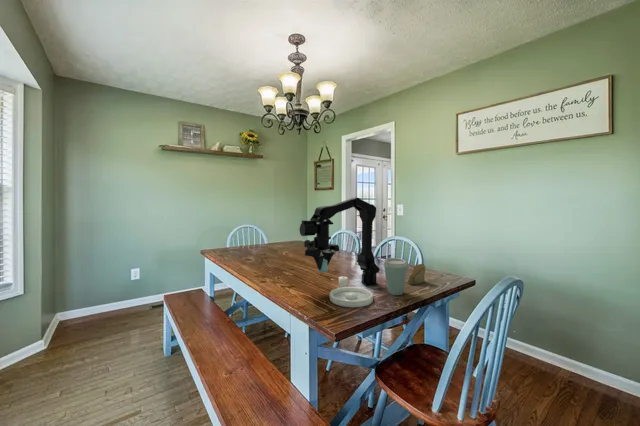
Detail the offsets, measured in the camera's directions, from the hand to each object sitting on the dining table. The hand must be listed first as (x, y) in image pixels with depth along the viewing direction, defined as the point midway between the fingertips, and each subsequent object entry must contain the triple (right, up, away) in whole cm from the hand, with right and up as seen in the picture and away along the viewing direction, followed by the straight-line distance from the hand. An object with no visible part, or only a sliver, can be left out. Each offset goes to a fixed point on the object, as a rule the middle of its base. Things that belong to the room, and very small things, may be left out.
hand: (322, 268), depth 130 cm
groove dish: (+12, -11, -9) cm, 18 cm away
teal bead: (0, -1, 0) cm, 1 cm away
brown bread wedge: (+47, -10, +15) cm, 50 cm away
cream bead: (+10, -11, +6) cm, 16 cm away
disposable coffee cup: (+33, -11, -1) cm, 34 cm away
